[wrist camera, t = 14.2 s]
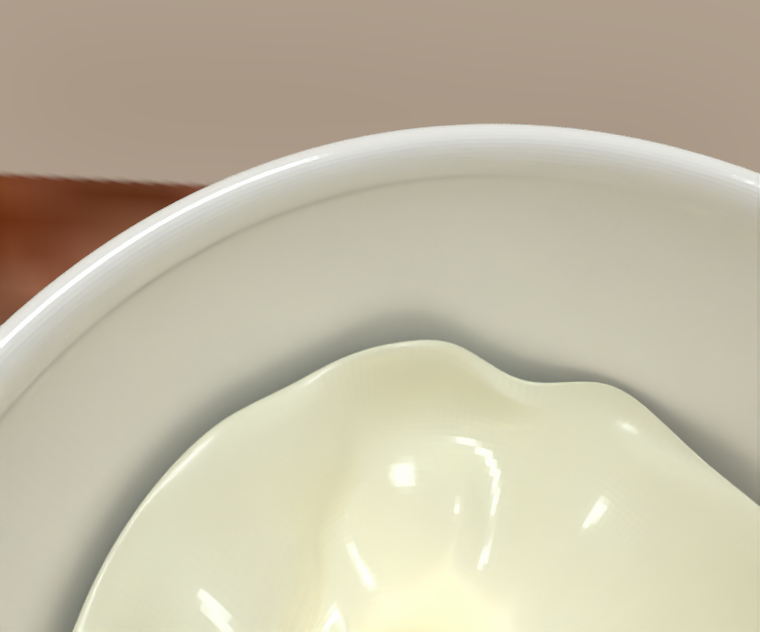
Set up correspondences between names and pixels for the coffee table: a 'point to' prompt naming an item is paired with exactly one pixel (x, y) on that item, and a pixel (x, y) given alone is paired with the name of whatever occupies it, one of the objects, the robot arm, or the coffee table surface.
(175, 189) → the coffee table surface
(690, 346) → the candle holder
